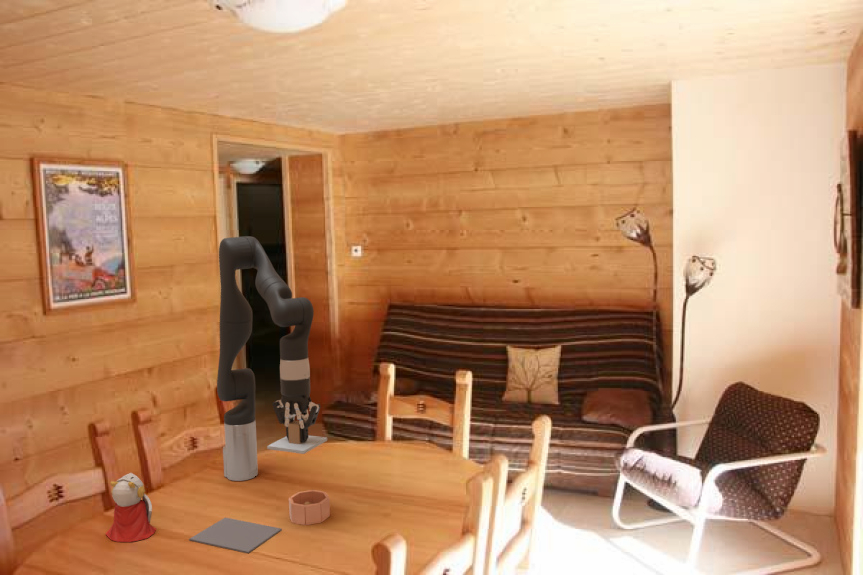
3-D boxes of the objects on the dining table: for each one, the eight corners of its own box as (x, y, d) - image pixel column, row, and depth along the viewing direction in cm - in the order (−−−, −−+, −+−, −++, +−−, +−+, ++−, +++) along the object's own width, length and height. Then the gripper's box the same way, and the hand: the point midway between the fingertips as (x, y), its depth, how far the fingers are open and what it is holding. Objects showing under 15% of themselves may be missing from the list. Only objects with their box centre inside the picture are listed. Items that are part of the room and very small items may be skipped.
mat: (189, 540, 166) (189, 538, 166) (225, 518, 178) (225, 517, 178) (248, 553, 159) (248, 551, 159) (281, 530, 171) (281, 528, 171)
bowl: (282, 520, 176) (281, 502, 175) (304, 505, 185) (303, 488, 185) (315, 527, 172) (314, 508, 171) (336, 511, 181) (335, 493, 181)
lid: (267, 449, 172) (266, 426, 172) (292, 436, 183) (291, 415, 182) (303, 454, 168) (303, 431, 168) (327, 440, 178) (326, 419, 178)
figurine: (169, 526, 174) (166, 470, 173) (134, 546, 164) (130, 486, 162) (132, 518, 179) (129, 463, 178) (95, 537, 169) (91, 479, 168)
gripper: (263, 376, 173) (266, 442, 175) (310, 380, 167) (312, 448, 169) (280, 370, 180) (283, 433, 181) (326, 374, 174) (328, 439, 176)
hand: (297, 440), depth 175 cm, fingers closed on lid, 3 cm apart
